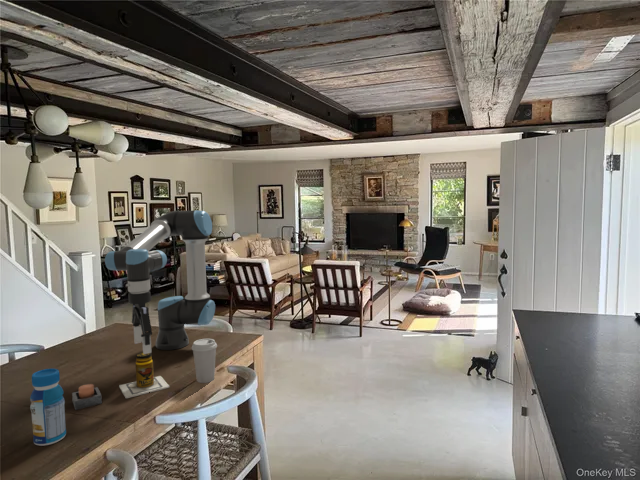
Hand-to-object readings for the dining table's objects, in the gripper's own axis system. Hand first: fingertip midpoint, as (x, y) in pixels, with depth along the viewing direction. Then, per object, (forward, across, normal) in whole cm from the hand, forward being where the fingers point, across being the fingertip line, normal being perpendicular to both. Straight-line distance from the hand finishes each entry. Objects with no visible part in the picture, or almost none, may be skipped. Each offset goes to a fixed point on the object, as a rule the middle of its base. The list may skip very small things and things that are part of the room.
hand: (142, 347), depth 160 cm
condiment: (+14, 0, 0) cm, 14 cm away
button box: (+15, +1, -19) cm, 24 cm away
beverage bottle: (+14, +21, -31) cm, 41 cm away
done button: (+12, +1, -19) cm, 23 cm away
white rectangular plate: (+15, 0, 0) cm, 15 cm away
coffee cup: (+15, +7, +21) cm, 27 cm away
